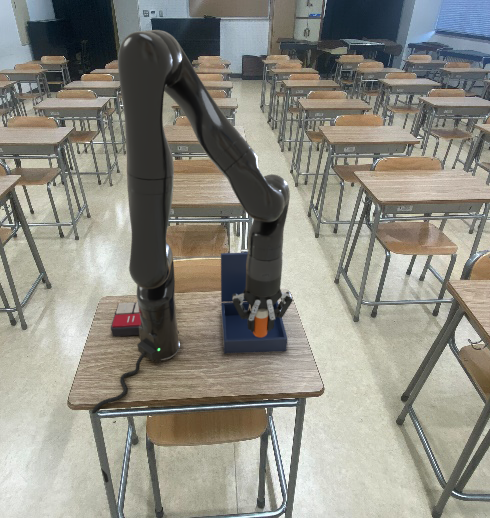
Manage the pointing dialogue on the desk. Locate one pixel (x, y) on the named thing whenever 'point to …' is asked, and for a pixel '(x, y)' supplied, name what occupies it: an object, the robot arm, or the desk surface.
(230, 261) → the lid
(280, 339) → the pencil box
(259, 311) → the glue stick
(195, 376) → the desk surface
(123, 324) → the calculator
